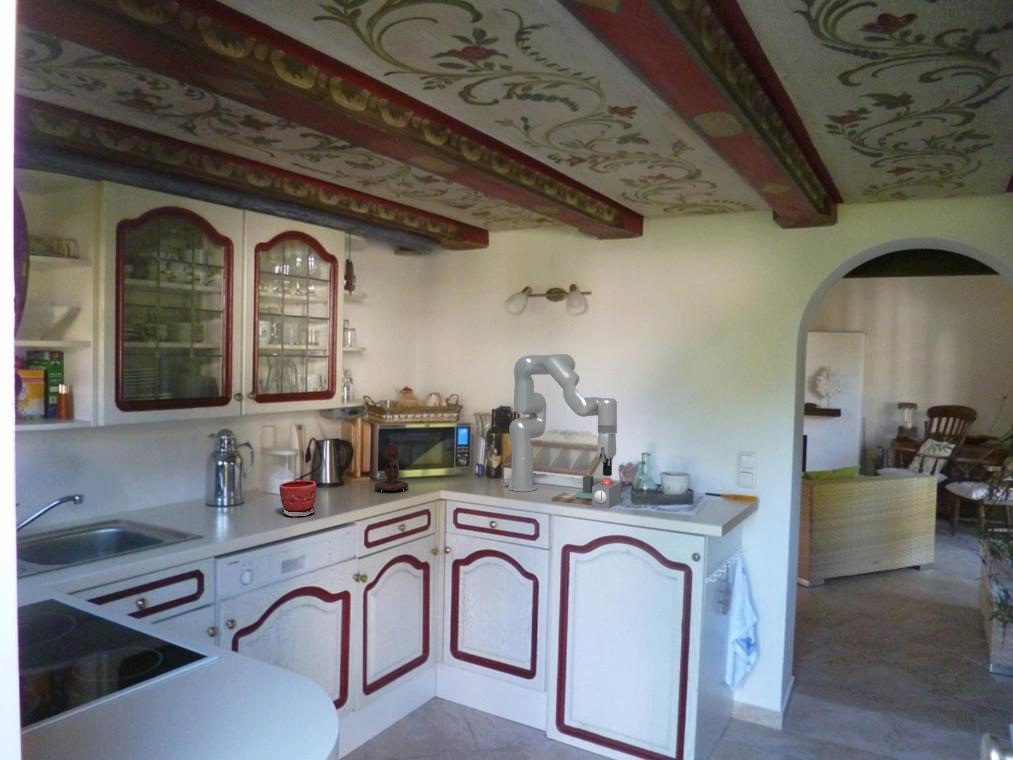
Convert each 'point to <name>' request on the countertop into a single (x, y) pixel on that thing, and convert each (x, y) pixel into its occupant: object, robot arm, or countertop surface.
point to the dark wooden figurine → (391, 471)
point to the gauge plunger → (606, 481)
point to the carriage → (586, 488)
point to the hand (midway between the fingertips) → (607, 475)
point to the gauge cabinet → (606, 495)
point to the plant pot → (298, 495)
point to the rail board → (571, 498)
